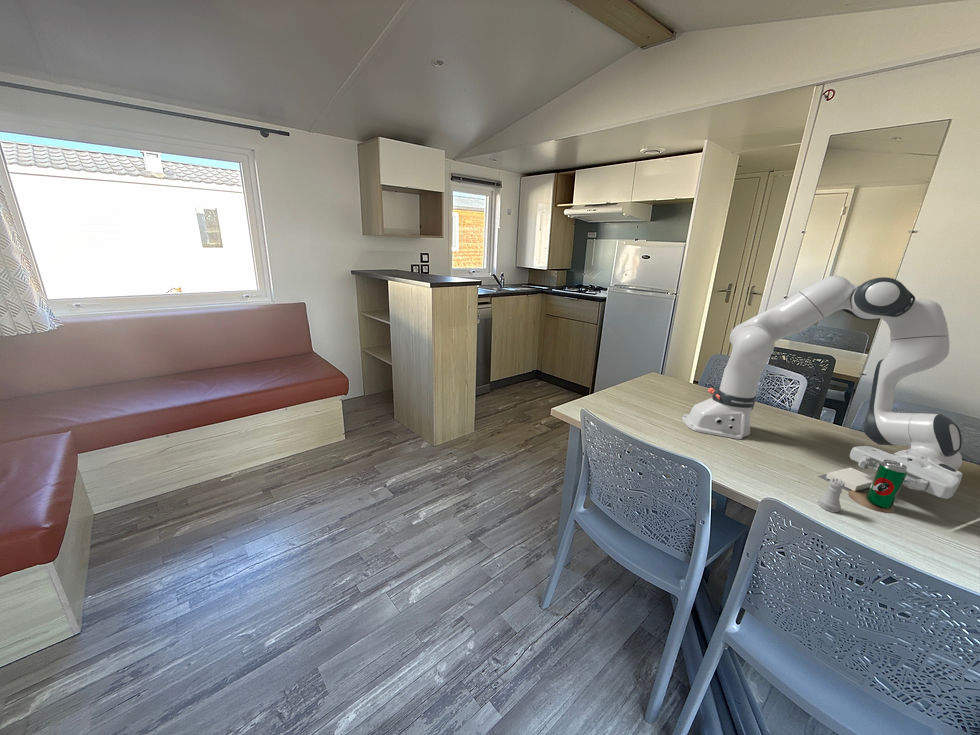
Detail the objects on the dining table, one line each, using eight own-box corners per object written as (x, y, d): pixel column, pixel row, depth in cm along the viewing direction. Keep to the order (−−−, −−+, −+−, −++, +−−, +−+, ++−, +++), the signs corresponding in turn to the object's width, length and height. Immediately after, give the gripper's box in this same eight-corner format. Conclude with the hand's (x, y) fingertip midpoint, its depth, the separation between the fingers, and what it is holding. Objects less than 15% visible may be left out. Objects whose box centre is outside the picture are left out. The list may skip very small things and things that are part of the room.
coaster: (863, 511, 98) (864, 508, 98) (839, 490, 107) (840, 488, 106) (903, 516, 97) (904, 514, 96) (875, 495, 105) (877, 492, 105)
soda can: (895, 512, 97) (914, 471, 93) (870, 506, 99) (887, 466, 95) (885, 500, 101) (903, 461, 98) (861, 495, 103) (877, 456, 100)
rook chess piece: (812, 502, 101) (822, 476, 98) (828, 501, 101) (837, 476, 99) (828, 513, 97) (838, 486, 94) (844, 513, 97) (854, 486, 95)
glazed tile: (850, 467, 114) (827, 472, 111) (880, 479, 108) (856, 486, 104) (848, 472, 115) (825, 478, 111) (878, 485, 109) (854, 491, 105)
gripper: (870, 438, 112) (841, 444, 107) (972, 476, 94) (942, 486, 89) (863, 457, 114) (833, 463, 109) (961, 498, 96) (931, 508, 91)
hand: (883, 474), depth 99 cm, fingers open, 8 cm apart
